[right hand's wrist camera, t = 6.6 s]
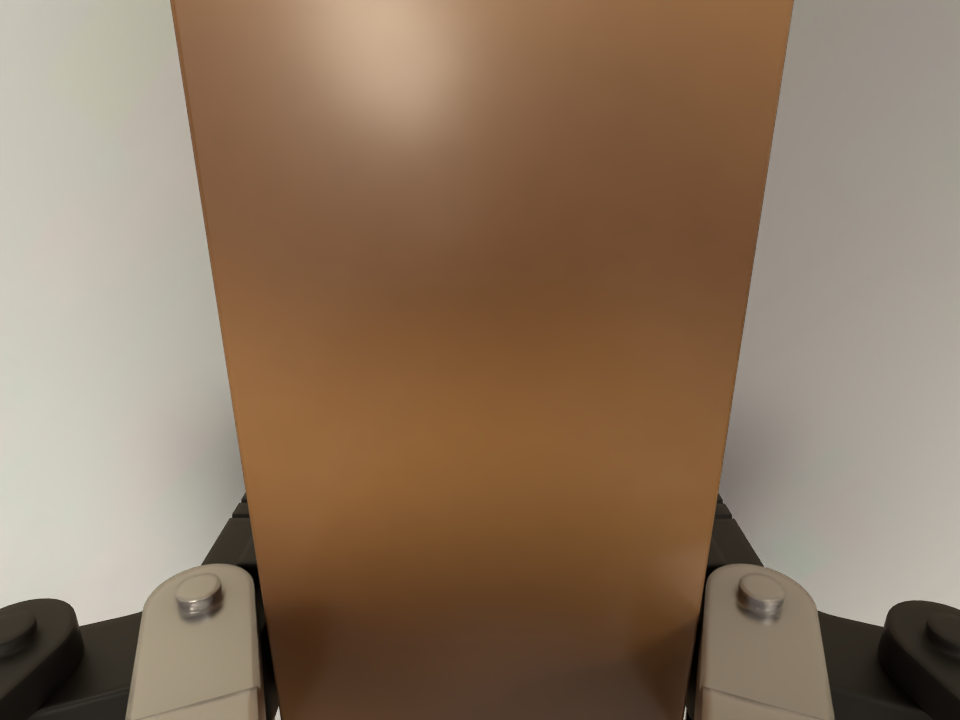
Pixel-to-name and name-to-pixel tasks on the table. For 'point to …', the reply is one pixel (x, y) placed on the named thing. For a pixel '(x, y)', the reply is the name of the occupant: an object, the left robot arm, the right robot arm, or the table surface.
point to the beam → (482, 334)
